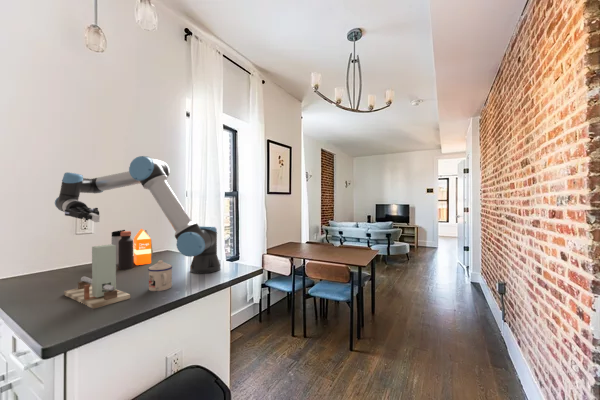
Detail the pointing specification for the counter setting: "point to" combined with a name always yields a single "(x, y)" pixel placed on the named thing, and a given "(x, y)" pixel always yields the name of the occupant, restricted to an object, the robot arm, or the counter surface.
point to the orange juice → (142, 248)
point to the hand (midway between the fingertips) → (97, 219)
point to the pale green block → (103, 268)
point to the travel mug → (116, 243)
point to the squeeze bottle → (151, 243)
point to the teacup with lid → (160, 276)
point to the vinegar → (125, 251)
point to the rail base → (85, 297)
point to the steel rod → (104, 286)
